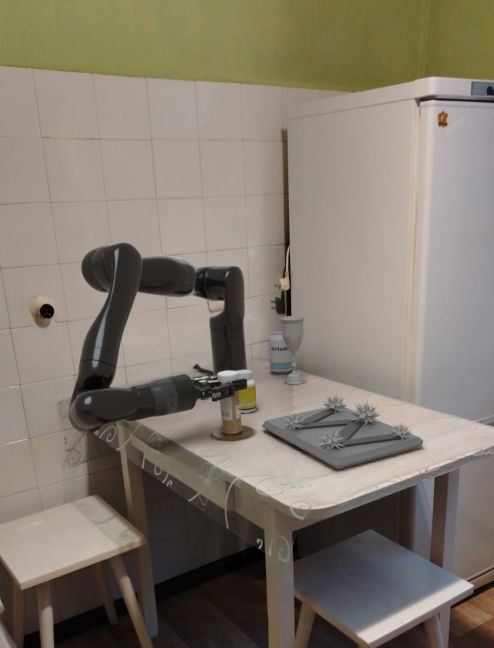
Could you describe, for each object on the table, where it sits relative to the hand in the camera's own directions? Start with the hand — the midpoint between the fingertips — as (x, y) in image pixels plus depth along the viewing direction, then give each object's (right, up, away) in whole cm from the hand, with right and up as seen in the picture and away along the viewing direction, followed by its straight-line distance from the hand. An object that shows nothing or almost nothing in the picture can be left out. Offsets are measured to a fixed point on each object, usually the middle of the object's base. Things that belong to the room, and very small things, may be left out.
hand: (239, 381), depth 139 cm
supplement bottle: (+1, -5, +19) cm, 20 cm away
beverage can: (+10, +8, +54) cm, 56 cm away
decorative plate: (+21, -13, -4) cm, 25 cm away
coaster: (-2, -11, +3) cm, 12 cm away
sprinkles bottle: (-2, -11, +2) cm, 12 cm away
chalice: (+14, +4, +42) cm, 45 cm away
